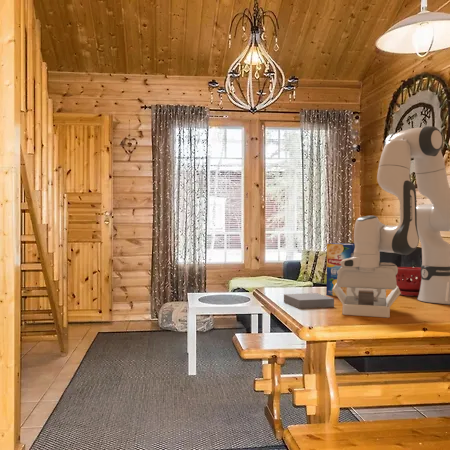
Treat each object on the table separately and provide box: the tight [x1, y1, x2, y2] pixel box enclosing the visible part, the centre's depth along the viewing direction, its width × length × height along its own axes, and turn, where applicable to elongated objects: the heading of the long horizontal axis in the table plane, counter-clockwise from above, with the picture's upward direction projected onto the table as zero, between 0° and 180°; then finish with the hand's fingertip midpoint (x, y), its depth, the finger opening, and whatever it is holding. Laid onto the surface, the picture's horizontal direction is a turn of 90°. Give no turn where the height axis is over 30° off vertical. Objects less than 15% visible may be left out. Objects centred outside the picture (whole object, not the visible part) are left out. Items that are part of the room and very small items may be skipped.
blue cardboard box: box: [325, 242, 355, 297], centre depth 201 cm, size 7×11×22 cm, turn 52°
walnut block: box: [358, 289, 374, 306], centre depth 166 cm, size 12×5×7 cm, turn 163°
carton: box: [333, 283, 401, 318], centre depth 167 cm, size 21×22×9 cm
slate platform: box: [283, 292, 335, 309], centre depth 178 cm, size 14×14×3 cm
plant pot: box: [396, 266, 422, 298], centre depth 204 cm, size 13×13×12 cm
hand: (365, 300), depth 166 cm, fingers closed on walnut block, 5 cm apart
